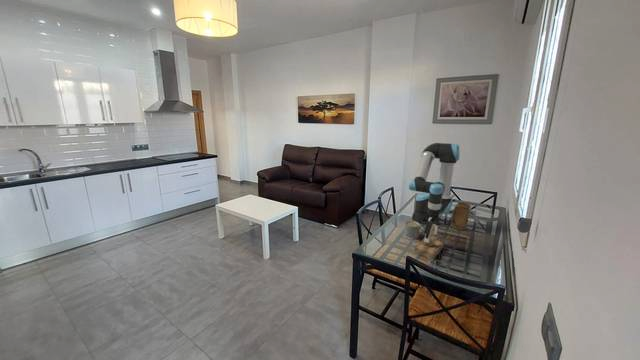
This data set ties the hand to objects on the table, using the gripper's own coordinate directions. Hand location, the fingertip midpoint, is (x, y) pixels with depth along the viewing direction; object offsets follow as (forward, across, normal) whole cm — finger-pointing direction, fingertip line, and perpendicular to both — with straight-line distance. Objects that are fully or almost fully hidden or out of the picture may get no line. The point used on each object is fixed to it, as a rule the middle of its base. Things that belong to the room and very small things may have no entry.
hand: (430, 237), depth 167 cm
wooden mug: (+10, +70, +12) cm, 71 cm away
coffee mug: (+10, +10, +15) cm, 21 cm away
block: (+10, +46, -6) cm, 47 cm away
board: (+9, 0, 0) cm, 9 cm away
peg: (+9, 0, 0) cm, 9 cm away
